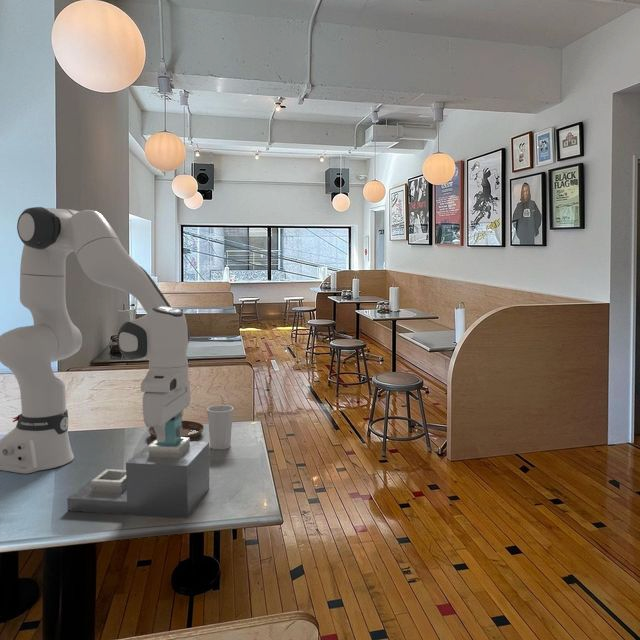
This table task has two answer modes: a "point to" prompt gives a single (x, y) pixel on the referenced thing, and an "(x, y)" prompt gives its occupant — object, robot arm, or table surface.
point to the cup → (220, 426)
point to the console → (150, 483)
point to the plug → (173, 432)
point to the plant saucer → (184, 429)
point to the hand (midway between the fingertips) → (169, 434)
